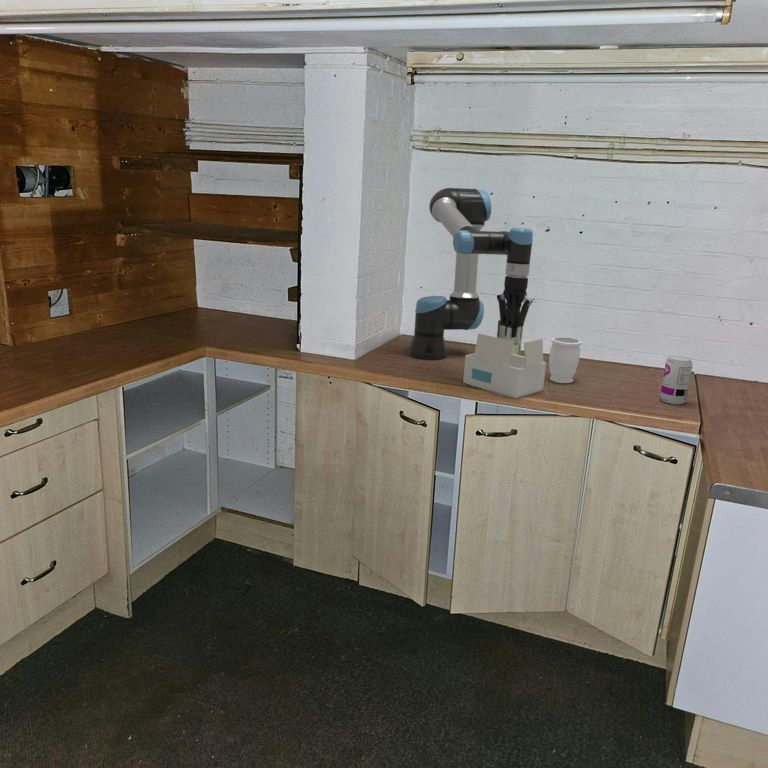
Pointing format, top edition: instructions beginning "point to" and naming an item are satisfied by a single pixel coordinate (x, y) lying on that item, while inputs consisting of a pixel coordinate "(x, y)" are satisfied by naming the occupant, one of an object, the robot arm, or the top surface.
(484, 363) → the carton
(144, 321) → the top surface
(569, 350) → the jar
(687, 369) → the supplement can
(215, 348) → the top surface
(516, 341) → the coffee can
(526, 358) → the end flap
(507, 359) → the front flap
